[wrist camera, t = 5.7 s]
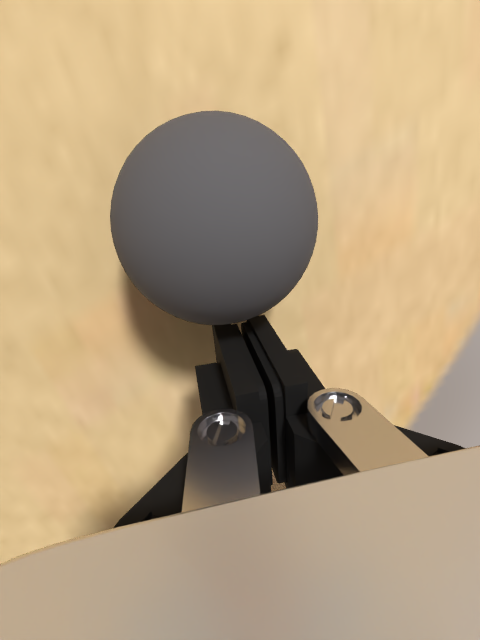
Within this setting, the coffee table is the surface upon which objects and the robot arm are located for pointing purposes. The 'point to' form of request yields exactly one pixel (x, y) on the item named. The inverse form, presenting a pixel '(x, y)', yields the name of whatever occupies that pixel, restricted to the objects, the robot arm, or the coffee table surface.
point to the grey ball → (214, 217)
